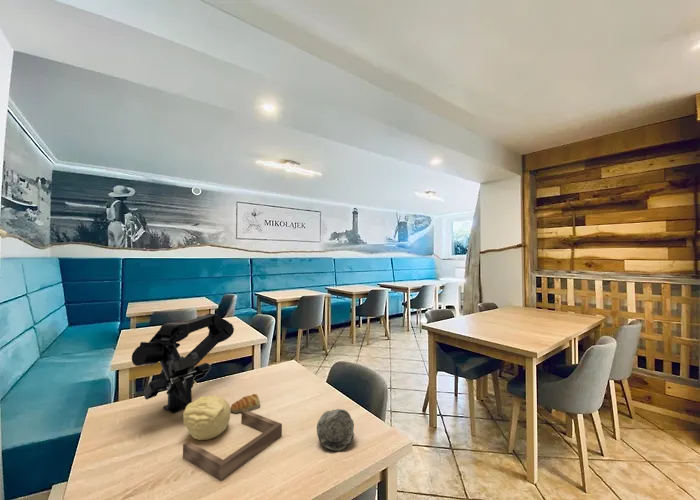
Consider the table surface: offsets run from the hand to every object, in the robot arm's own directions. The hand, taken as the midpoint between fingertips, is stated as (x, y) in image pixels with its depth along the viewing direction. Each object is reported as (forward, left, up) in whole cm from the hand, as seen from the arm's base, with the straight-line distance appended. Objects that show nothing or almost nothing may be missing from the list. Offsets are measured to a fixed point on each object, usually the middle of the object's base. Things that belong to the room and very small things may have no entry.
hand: (189, 403), depth 92 cm
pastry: (+7, +16, -7) cm, 19 cm away
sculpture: (+9, 0, -7) cm, 11 cm away
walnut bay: (+20, 0, -6) cm, 21 cm away
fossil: (+43, +16, -7) cm, 47 cm away
